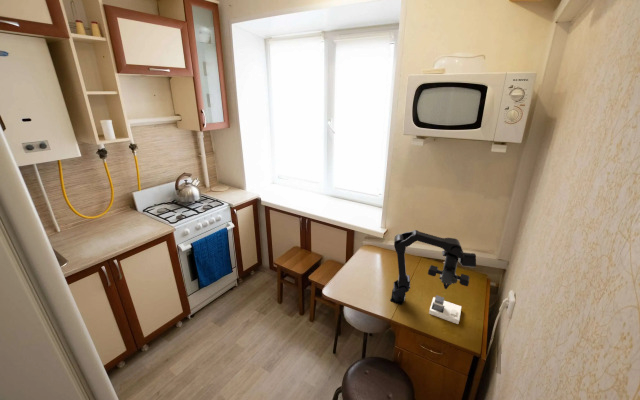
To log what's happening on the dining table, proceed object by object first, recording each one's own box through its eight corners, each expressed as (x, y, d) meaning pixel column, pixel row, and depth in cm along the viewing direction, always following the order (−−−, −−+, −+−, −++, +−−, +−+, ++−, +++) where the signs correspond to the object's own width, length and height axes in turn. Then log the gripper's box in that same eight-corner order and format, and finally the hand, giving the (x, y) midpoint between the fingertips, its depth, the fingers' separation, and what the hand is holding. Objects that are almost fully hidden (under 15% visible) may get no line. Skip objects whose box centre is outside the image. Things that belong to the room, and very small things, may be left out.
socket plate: (428, 313, 143) (429, 308, 142) (432, 300, 152) (433, 295, 151) (458, 324, 137) (459, 319, 136) (460, 310, 146) (461, 305, 144)
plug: (432, 311, 144) (434, 299, 141) (433, 306, 147) (436, 295, 144) (440, 314, 142) (443, 302, 139) (442, 309, 146) (444, 297, 143)
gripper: (427, 266, 135) (423, 291, 141) (470, 278, 126) (464, 305, 132) (432, 254, 144) (427, 279, 150) (472, 265, 135) (466, 291, 141)
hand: (445, 288), depth 143 cm, fingers closed
